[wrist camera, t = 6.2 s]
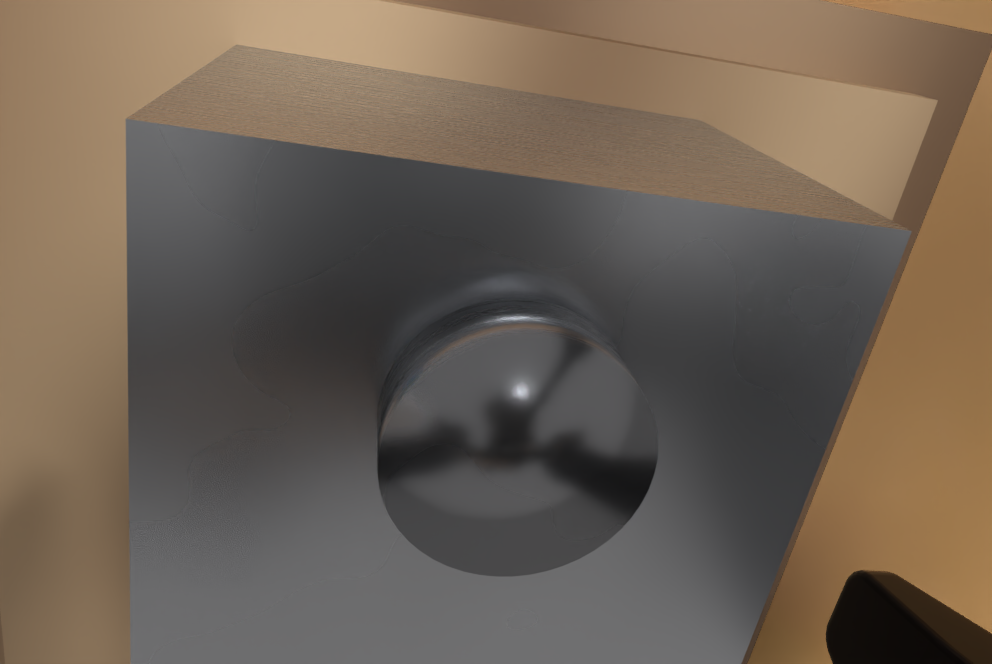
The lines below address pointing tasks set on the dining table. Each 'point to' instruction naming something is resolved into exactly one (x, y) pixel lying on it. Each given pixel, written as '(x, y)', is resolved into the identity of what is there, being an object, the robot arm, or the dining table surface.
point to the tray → (402, 47)
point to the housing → (470, 370)
